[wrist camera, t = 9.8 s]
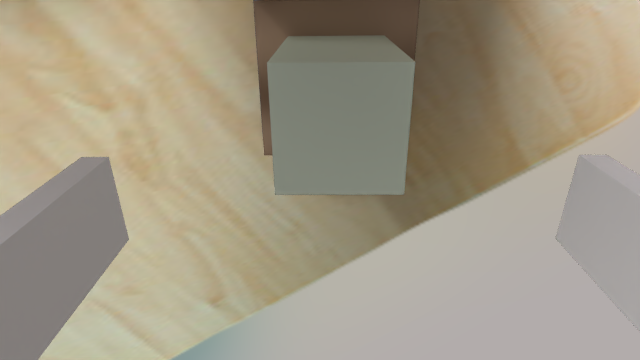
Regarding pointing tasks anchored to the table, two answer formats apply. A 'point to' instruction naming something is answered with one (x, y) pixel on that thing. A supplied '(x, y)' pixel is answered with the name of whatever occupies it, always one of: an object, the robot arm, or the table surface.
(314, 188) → the sage block
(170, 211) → the table surface
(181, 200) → the table surface
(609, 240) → the robot arm
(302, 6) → the walnut block
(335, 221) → the table surface
